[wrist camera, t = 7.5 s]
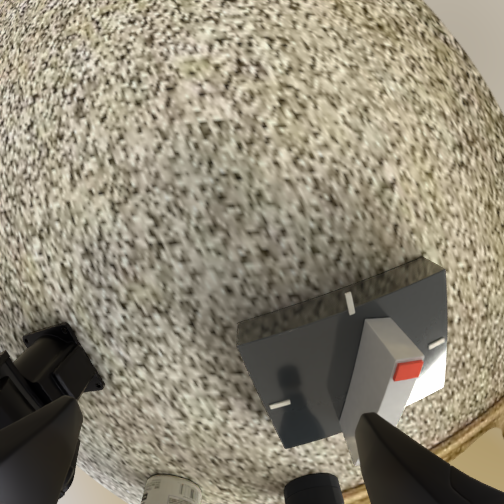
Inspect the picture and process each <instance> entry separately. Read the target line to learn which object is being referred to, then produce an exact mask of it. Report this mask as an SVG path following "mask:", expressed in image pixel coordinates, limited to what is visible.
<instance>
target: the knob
mask: <svg viewBox="0 0 504 504" xmlns="http://www.w3.org/2000/svg"><path fill="white" fill-rule="evenodd" d="M424 357H425V356H424V354H423V353H422V352H421V351H420V350H419V349H418V347H417V346H416V345H415V344H414V343H413V342H412V341H411V340H410V339H409V337H408V336H407V335H406V334H405V333H404V332H403V331H402V330H401V329H400V328H399V326H398V325H397V324H396V323H395V322H394V321H393V320H392V319H391V318H390V317H389V318H374V319H365V321H364V326H363V331H362V336H361V341H360V345H359V350H358V354H357V359H356V363H355V367H354V371H353V375H352V379H351V383H350V386H349V390H348V394H347V397H346V401H345V404H344V408H343V411H342V415H341V418H340V421H339V423H340V426H341V429H342V432H343V435H344V438H345V440H346V443H347V446H348V449H349V452H350V455H351V458H352V461H353V464H354V466H358V465H360V461H359V456H358V450H357V445H356V440H355V429H356V427H357V424H358V422H359V419H360V416H361V415H362V414H363V413H368V412H375V413H377V414H378V415H380V416H381V417H382V418H384V419H385V420H387V421H388V422H389V423H391V424H392V425H393V426H395V427H396V426H397V424H398V422H399V420H400V417H401V415H402V413H403V411H404V409H405V406H406V404H407V402H408V399H409V397H410V394H411V392H412V389H413V387H414V384H415V382H416V379H417V377H419V374H420V371H421V368H422V366H423V363H424V361H423V360H424Z"/></svg>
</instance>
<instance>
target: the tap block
mask: <svg viewBox="0 0 504 504" xmlns="http://www.w3.org/2000/svg"><path fill="white" fill-rule="evenodd" d="M389 317H390V318H391V319H392V320H393V321H394V322H395V323H396V324H397V325H398V326H399V328H400V329H401V330H402V331H403V332H404V333H405V334H406V335H407V336H408V337H409V339H410V340H411V341H412V342H413V343H414V344H415V345H416V346H417V347H418V349H419V350H420V351H421V352H422V353H423V354H424V356H425V357H424V360H423V361H424V363H423V366H422V368H421V371H420V374H419V377H417V379H416V382H415V384H414V387H413V389H412V392H411V394H410V397H409V399H408V402H407V404H406V406H408V405H410V404H412V403H414V402H416V401H418V400H420V399H422V398H424V397H426V396H428V395H430V394H432V393H434V392H435V391H437V390H439V389H441V388H443V387H444V382H445V371H446V356H447V324H448V317H447V284H446V270H445V269H444V268H443V267H441V266H439V265H437V264H435V263H433V262H432V261H430V260H428V259H426V258H424V257H421V258H419V259H416V260H414V261H412V262H409V263H407V264H404V265H402V266H399V267H397V268H394V269H392V270H389V271H387V272H384V273H382V274H379V275H376V276H374V277H371V278H369V279H366V280H363V281H361V282H358V283H355V284H353V285H350V286H347V287H344V288H342V289H339V290H336V291H333V292H330V293H328V294H325V295H322V296H319V297H316V298H313V299H310V300H308V301H305V302H302V303H299V304H296V305H293V306H290V307H287V308H284V309H280V310H277V311H274V312H271V313H268V314H265V315H262V316H258V317H255V318H252V319H249V320H245V321H242V322H239V323H238V325H237V349H238V351H239V353H240V355H241V358H242V360H243V362H244V364H245V367H246V369H247V371H248V373H249V375H250V378H251V380H252V382H253V384H254V386H255V388H256V390H257V393H258V395H259V397H260V399H261V401H262V403H263V405H264V407H265V409H266V412H267V414H268V416H269V418H270V420H271V422H272V424H273V426H274V428H275V430H276V432H277V434H278V436H279V438H280V440H281V442H282V444H283V446H284V448H285V449H287V448H291V447H295V446H299V445H302V444H306V443H310V442H313V441H316V440H320V439H323V438H326V437H329V436H332V435H335V434H338V433H341V432H342V429H341V426H340V423H339V421H340V418H341V415H342V411H343V408H344V404H345V401H346V397H347V394H348V390H349V386H350V383H351V379H352V375H353V371H354V367H355V363H356V359H357V354H358V350H359V345H360V341H361V336H362V331H363V326H364V321H365V319H374V318H389ZM406 406H405V407H406Z"/></svg>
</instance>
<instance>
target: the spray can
mask: <svg viewBox="0 0 504 504" xmlns="http://www.w3.org/2000/svg"><path fill="white" fill-rule="evenodd" d="M201 500H202V493H201V490H200V488H199V487H198V486H197V485H196V484H195V483H193V482H192V481H190V480H188V479H184V478H180V477H177V476H172V475H155V476H152V477H150V478H149V479H148V481H147V482H146V485H145V489H144V493H143V497H142V501H141V504H201Z"/></svg>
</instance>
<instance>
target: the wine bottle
mask: <svg viewBox="0 0 504 504" xmlns="http://www.w3.org/2000/svg"><path fill="white" fill-rule="evenodd" d="M284 497H285V504H344V500H343V496H342V493H341V489H340V485H339V482H338V478H337V477H335V476H334V475H331V474H323V473H320V474H311V475H307V476H303V477H300V478H297V479H295V480H293V481H291V482H290V483H288V484H287V485H286V486H285V488H284Z"/></svg>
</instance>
